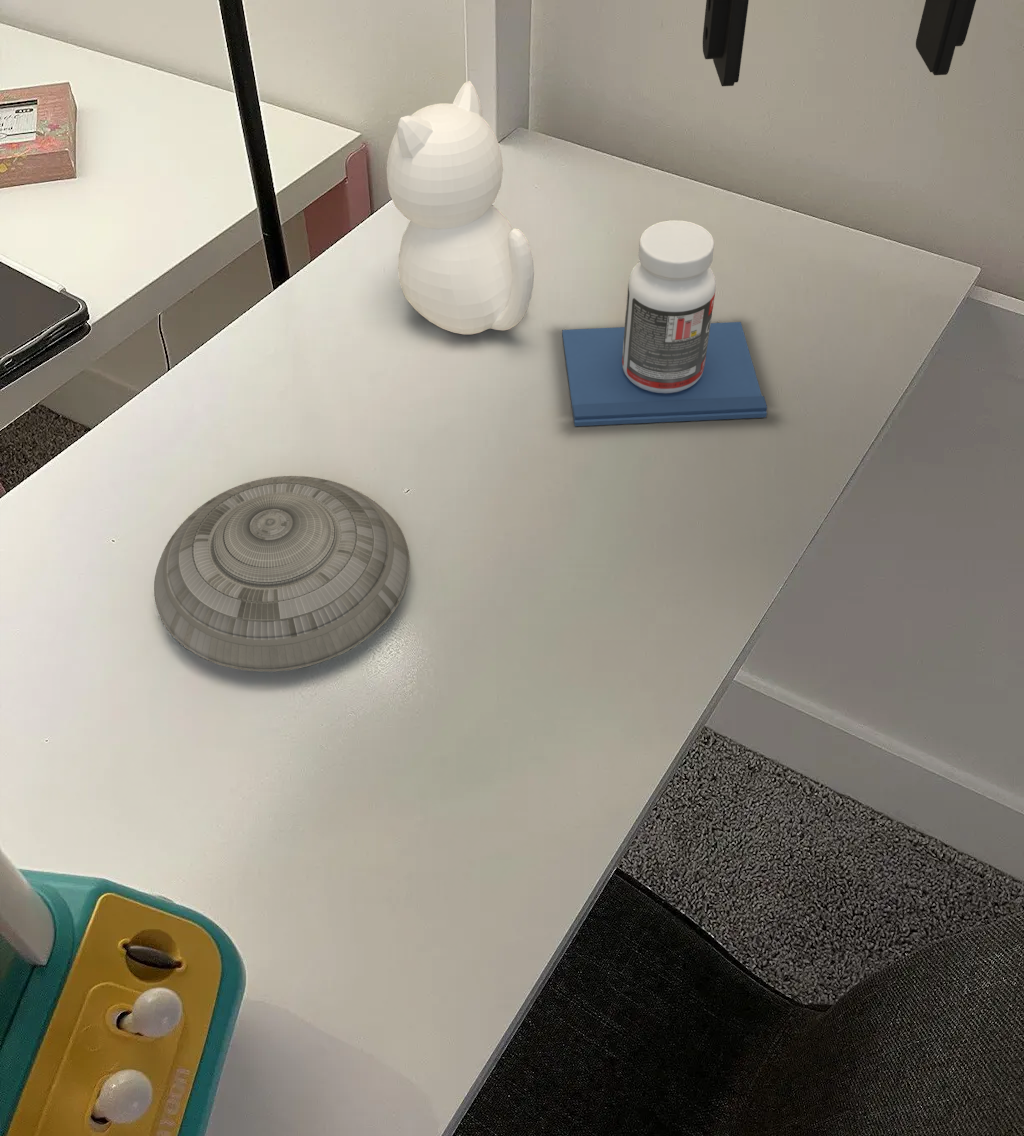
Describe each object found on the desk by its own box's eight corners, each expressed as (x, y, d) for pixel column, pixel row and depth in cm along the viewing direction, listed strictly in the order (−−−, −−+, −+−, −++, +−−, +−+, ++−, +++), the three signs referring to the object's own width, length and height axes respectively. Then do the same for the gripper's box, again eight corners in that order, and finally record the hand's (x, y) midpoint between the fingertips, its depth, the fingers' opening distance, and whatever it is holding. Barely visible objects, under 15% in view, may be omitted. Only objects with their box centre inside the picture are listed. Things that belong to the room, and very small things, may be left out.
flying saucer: (325, 724, 62) (310, 663, 57) (108, 630, 66) (78, 566, 61) (456, 544, 70) (451, 478, 65) (254, 470, 74) (237, 403, 69)
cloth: (739, 326, 82) (741, 318, 82) (766, 417, 76) (767, 409, 76) (562, 334, 82) (562, 325, 81) (574, 426, 76) (574, 418, 75)
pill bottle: (717, 384, 78) (739, 255, 70) (643, 405, 77) (656, 276, 69) (680, 336, 81) (696, 207, 73) (607, 355, 80) (616, 227, 72)
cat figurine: (452, 253, 88) (440, 53, 76) (574, 318, 83) (582, 115, 71) (368, 306, 84) (341, 104, 72) (492, 378, 79) (485, 174, 67)
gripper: (689, -412, 37) (652, 116, 50) (1218, -438, 37) (1038, 96, 50) (660, -455, 41) (633, 41, 55) (1131, -478, 41) (987, 22, 55)
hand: (827, 67), depth 53 cm, fingers open, 9 cm apart
